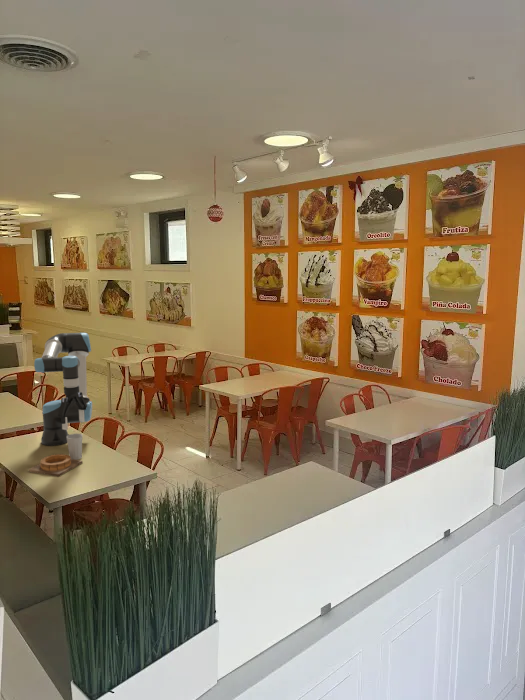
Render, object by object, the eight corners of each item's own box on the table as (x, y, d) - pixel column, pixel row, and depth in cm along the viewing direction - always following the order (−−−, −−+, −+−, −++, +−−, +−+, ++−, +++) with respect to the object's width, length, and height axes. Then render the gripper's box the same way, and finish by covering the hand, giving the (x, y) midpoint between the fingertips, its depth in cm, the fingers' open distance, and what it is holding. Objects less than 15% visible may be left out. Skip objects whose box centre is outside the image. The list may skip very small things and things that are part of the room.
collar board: (53, 458, 278) (53, 451, 277) (82, 463, 272) (82, 455, 271) (28, 471, 261) (28, 463, 260) (58, 476, 255) (58, 468, 255)
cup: (78, 461, 275) (77, 439, 273) (64, 459, 276) (63, 437, 274) (86, 455, 282) (85, 434, 280) (73, 454, 284) (71, 433, 282)
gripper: (80, 380, 285) (82, 418, 289) (48, 391, 262) (51, 432, 266) (92, 381, 283) (94, 419, 287) (61, 392, 260) (63, 433, 263)
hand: (73, 425), depth 276 cm, fingers open, 13 cm apart
